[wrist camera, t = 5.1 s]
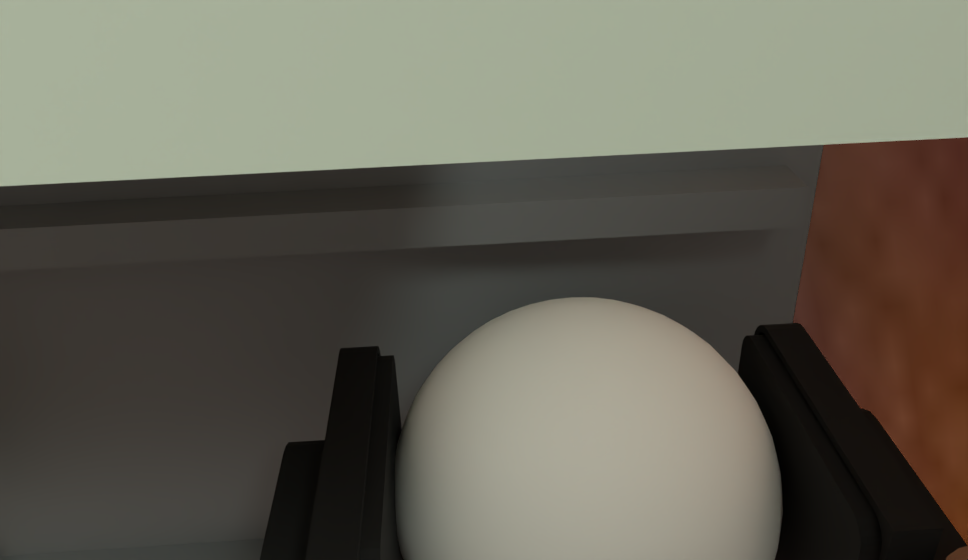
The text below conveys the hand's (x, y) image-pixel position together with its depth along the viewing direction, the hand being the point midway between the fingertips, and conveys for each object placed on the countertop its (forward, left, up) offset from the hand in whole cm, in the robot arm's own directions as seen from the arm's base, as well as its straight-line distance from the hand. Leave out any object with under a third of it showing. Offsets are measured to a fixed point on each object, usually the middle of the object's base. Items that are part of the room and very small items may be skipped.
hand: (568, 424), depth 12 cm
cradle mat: (+6, 0, -2) cm, 6 cm away
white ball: (0, 0, -1) cm, 1 cm away
